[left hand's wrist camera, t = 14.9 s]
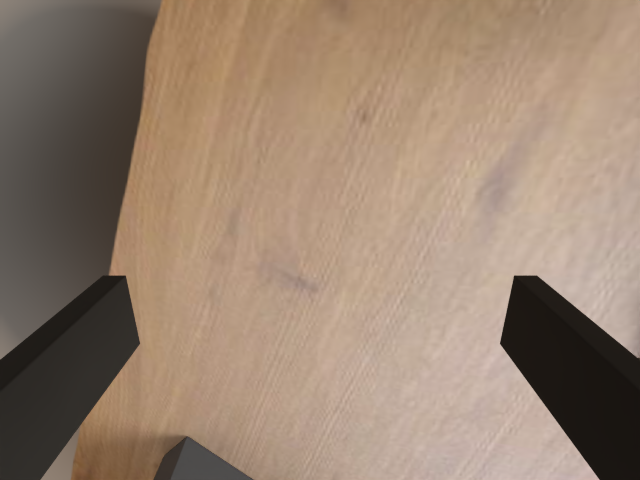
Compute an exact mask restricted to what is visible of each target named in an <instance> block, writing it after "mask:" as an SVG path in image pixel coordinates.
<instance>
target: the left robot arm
mask: <svg viewBox="0 0 640 480" xmlns="http://www.w3.org/2000/svg"><path fill="white" fill-rule="evenodd" d="M139 344H140V341H139V337H138V332H137V327H136V322H135V318H134V313H133V308H132V303H131V298H130V294H129V289H128V284H127V279H126V276H102V277H101V278H100V279H98V280H97V281H96V282H95V283H94V284H92V285H91V286H90V287H89V288H87V289H86V290H85V291H84V292H83V293H81V294H80V295H79V296H78V297H76V298H75V299H74V300H73V301H72V302H70V303H69V304H68V305H67V306H66V307H64V308H63V309H62V310H61V311H59V312H58V313H57V314H56V315H55V316H53V317H52V318H51V319H50V320H48V321H47V322H46V323H45V324H44V325H42V326H41V327H40V328H39V329H37V330H36V331H35V332H34V333H33V334H31V335H30V336H29V337H28V338H26V339H25V340H24V341H23V342H22V343H20V344H19V345H18V346H17V347H15V348H14V349H13V350H12V351H11V352H9V353H8V354H7V355H6V356H5V357H3V358H2V359H1V360H0V480H40V479H41V478H42V477H43V475H44V474H45V473H46V471H47V470H48V469H49V467H50V466H51V464H52V463H53V462H54V460H55V459H56V458H57V456H58V455H59V454H60V452H61V451H62V449H63V448H64V447H65V445H66V444H67V443H68V441H69V440H70V438H71V437H72V436H73V434H74V433H75V432H76V430H77V429H78V428H79V426H80V425H81V423H82V422H83V421H84V419H85V418H86V417H87V415H88V414H89V413H90V411H91V410H92V408H93V407H94V406H95V404H96V403H97V402H98V400H99V399H100V398H101V396H102V395H103V393H104V392H105V391H106V389H107V388H108V387H109V385H110V384H111V383H112V381H113V380H114V378H115V377H116V376H117V374H118V373H119V372H120V370H121V369H122V368H123V366H124V365H125V363H126V362H127V361H128V359H129V358H130V357H131V355H132V354H133V353H134V351H135V350H136V348H137V347H138V346H139ZM500 344H501V346H502V347H503V348H504V350H505V351H506V353H507V354H508V355H509V357H510V358H511V359H512V361H513V362H514V363H515V365H516V366H517V368H518V369H519V370H520V372H521V373H522V374H523V376H524V377H525V378H526V380H527V381H528V383H529V384H530V385H531V387H532V388H533V389H534V391H535V392H536V393H537V395H538V396H539V398H540V399H541V400H542V402H543V403H544V404H545V406H546V407H547V408H548V410H549V411H550V413H551V414H552V415H553V417H554V418H555V419H556V421H557V422H558V423H559V425H560V426H561V428H562V429H563V430H564V432H565V433H566V434H567V436H568V437H569V439H570V440H571V441H572V443H573V444H574V445H575V447H576V448H577V449H578V451H579V452H580V454H581V455H582V456H583V458H584V459H585V460H586V462H587V463H588V464H589V466H590V467H591V469H592V470H593V471H594V473H595V474H596V475H597V477H598V478H599V479H600V480H640V358H637V357H636V356H634V355H633V354H632V353H631V352H629V351H628V350H627V349H626V348H625V347H623V346H622V345H621V344H620V343H618V342H617V341H616V340H615V339H614V338H612V337H611V336H610V335H609V334H607V333H606V332H605V331H604V330H603V329H601V328H600V327H599V326H598V325H597V324H595V323H594V322H593V321H592V320H590V319H589V318H588V317H587V316H586V315H584V314H583V313H582V312H581V311H579V310H578V309H577V308H576V307H575V306H573V305H572V304H571V303H570V302H568V301H567V300H566V299H565V298H564V297H562V296H561V295H560V294H559V293H557V292H556V291H555V290H554V289H553V288H551V287H550V286H549V285H548V284H546V283H545V282H544V281H543V280H542V279H540V278H539V277H538V276H514V279H513V284H512V289H511V294H510V298H509V303H508V308H507V313H506V318H505V322H504V327H503V332H502V337H501V341H500Z"/></svg>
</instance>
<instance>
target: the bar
mask: <svg viewBox="0 0 640 480" xmlns="http://www.w3.org/2000/svg"><path fill="white" fill-rule="evenodd" d="M154 480H253V479H251V478H250V477H248V476H247V475H245V474H244V473H242V472H241V471H239V470H238V469H236V468H235V467H233V466H232V465H230V464H229V463H227V462H226V461H224V460H223V459H221V458H220V457H218V456H217V455H215V454H214V453H212V452H210V451H209V450H207V449H206V448H204V447H203V446H201V445H200V444H198V443H197V442H195V441H194V440H192V439H191V438H189V437H188V436H187V437H186V438H185V439H183V440H182V441H181V442H180V443H179V444H178V445H176V446H175V447H174V448H173V449H172V450H170V451H169V452H168V453H167V454H166V455H165V456H164V457H163V459H162V462H161V464H160V466H159V468H158V471H157V473H156V475H155V478H154Z"/></svg>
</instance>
